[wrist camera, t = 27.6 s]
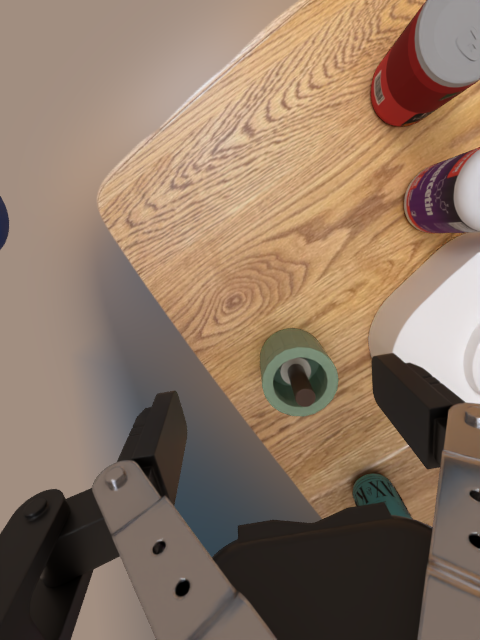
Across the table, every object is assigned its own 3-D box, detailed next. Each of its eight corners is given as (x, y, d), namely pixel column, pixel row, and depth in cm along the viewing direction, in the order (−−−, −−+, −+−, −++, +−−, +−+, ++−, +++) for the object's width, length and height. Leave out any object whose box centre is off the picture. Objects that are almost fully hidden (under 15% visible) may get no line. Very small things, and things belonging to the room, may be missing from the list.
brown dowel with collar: (281, 375, 45) (291, 418, 34) (274, 350, 44) (283, 386, 33) (308, 369, 44) (327, 409, 34) (302, 343, 43) (320, 377, 33)
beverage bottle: (397, 479, 49) (493, 634, 30) (368, 505, 51) (443, 670, 31) (366, 457, 48) (446, 603, 29) (338, 485, 50) (396, 641, 30)
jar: (268, 392, 46) (272, 423, 38) (252, 337, 44) (254, 358, 36) (328, 378, 45) (344, 406, 37) (315, 321, 43) (329, 338, 35)
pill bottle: (415, 157, 38) (514, 109, 24) (476, 175, 38) (610, 138, 24) (390, 224, 40) (468, 216, 26) (448, 241, 40) (556, 242, 26)
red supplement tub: (403, 143, 37) (466, 104, 27) (353, 99, 36) (397, 40, 26) (450, 83, 36) (537, 16, 25) (399, 35, 35) (466, -56, 24)
